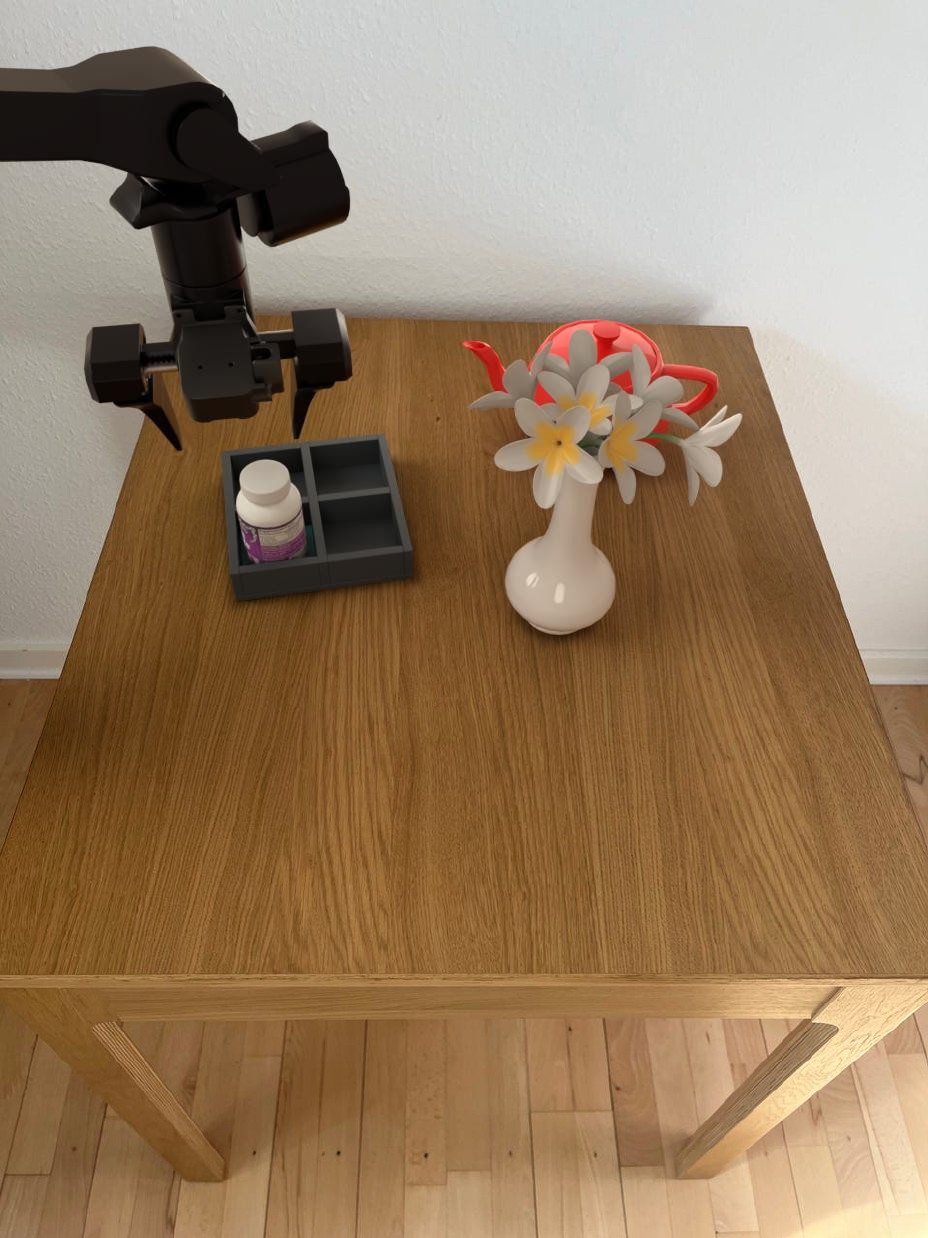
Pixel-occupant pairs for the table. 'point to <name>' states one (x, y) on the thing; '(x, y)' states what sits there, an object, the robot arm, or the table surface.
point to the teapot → (608, 342)
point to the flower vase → (588, 468)
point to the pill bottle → (270, 514)
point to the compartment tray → (326, 518)
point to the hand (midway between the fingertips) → (238, 441)
